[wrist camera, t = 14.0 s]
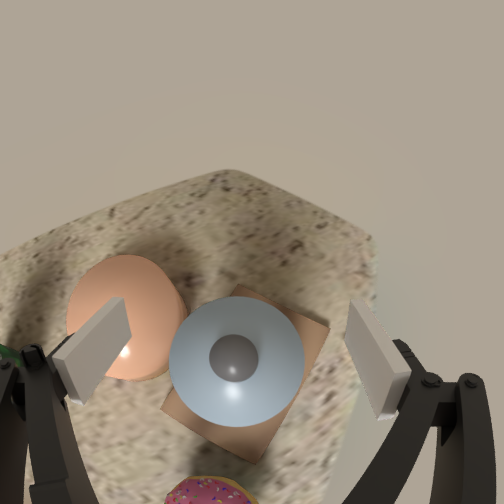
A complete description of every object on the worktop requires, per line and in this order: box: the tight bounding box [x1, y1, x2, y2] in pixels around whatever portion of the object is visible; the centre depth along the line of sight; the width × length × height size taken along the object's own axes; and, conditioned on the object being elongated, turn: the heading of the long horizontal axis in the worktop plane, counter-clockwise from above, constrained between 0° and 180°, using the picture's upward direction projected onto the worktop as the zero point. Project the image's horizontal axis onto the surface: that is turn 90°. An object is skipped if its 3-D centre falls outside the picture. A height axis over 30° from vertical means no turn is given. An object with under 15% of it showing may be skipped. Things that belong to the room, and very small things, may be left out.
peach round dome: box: [66, 255, 188, 382], centre depth 28 cm, size 13×13×5 cm
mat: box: [160, 284, 330, 465], centre depth 27 cm, size 11×16×1 cm
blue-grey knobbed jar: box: [169, 296, 305, 427], centre depth 22 cm, size 9×9×11 cm
